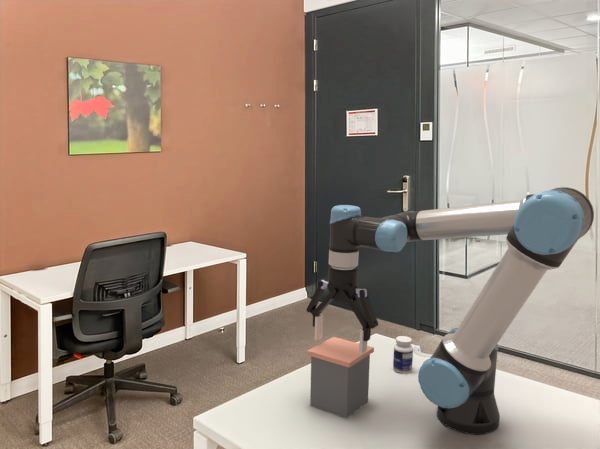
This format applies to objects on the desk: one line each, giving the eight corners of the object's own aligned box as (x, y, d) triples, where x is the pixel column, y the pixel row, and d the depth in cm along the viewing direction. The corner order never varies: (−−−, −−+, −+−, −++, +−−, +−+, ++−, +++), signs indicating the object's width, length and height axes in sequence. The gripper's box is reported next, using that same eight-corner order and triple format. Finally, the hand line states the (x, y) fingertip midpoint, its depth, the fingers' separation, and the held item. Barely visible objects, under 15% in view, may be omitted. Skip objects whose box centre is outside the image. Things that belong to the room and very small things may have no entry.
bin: (368, 401, 150) (369, 352, 148) (346, 418, 141) (348, 365, 139) (332, 390, 157) (334, 342, 154) (310, 405, 148) (311, 354, 145)
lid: (373, 355, 148) (374, 347, 148) (349, 371, 138) (349, 363, 138) (333, 344, 155) (333, 336, 155) (307, 358, 145) (307, 350, 145)
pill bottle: (389, 367, 172) (391, 336, 171) (406, 365, 174) (407, 334, 172) (398, 374, 167) (399, 343, 165) (415, 372, 169) (417, 341, 167)
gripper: (394, 271, 139) (389, 353, 142) (311, 256, 153) (309, 330, 157) (380, 277, 133) (375, 362, 136) (294, 261, 147) (293, 338, 151)
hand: (340, 345), depth 146 cm, fingers open, 13 cm apart
